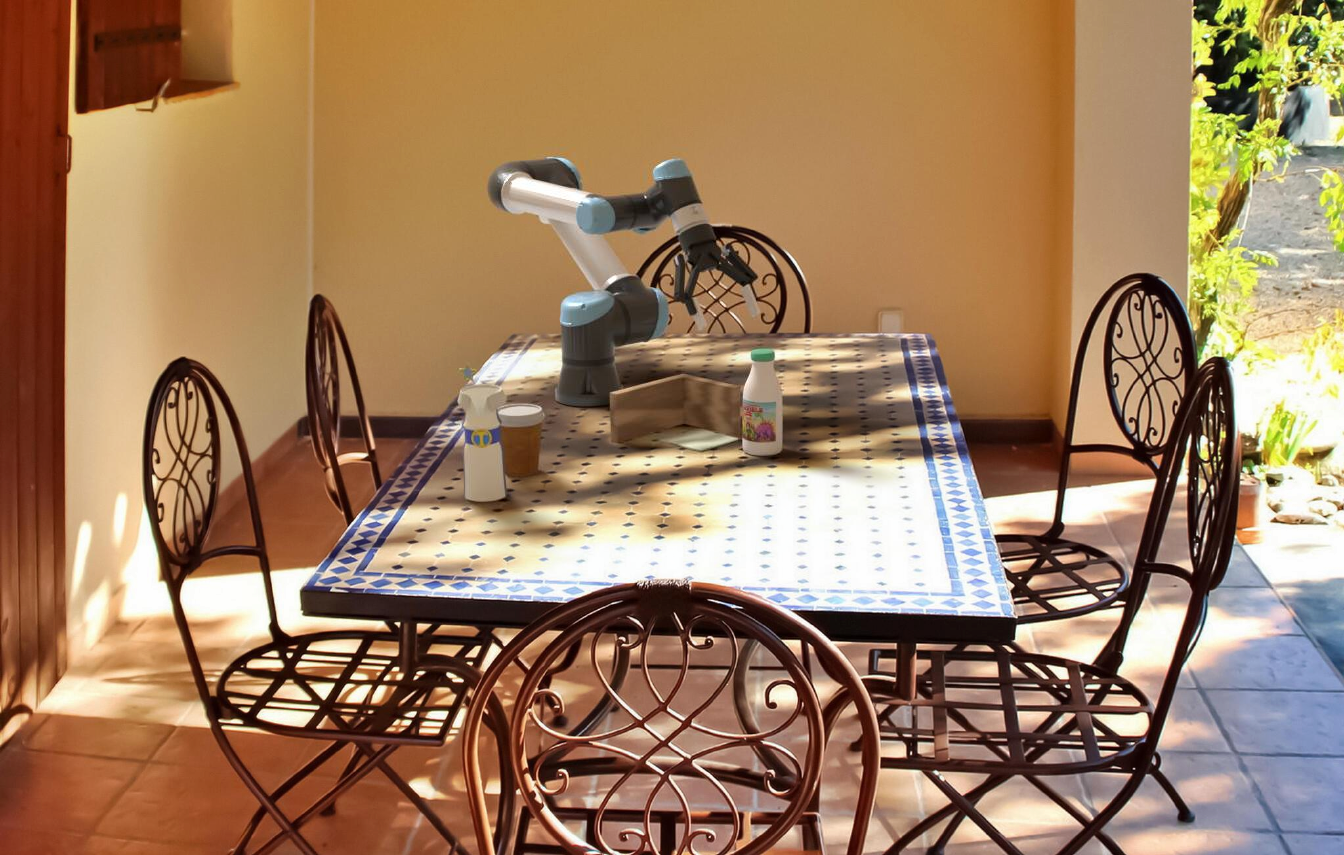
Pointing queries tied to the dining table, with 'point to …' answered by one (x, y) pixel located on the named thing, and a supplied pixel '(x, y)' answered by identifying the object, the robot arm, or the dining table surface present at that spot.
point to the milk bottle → (762, 406)
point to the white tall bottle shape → (482, 440)
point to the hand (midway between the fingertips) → (730, 321)
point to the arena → (678, 411)
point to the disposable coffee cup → (521, 437)
